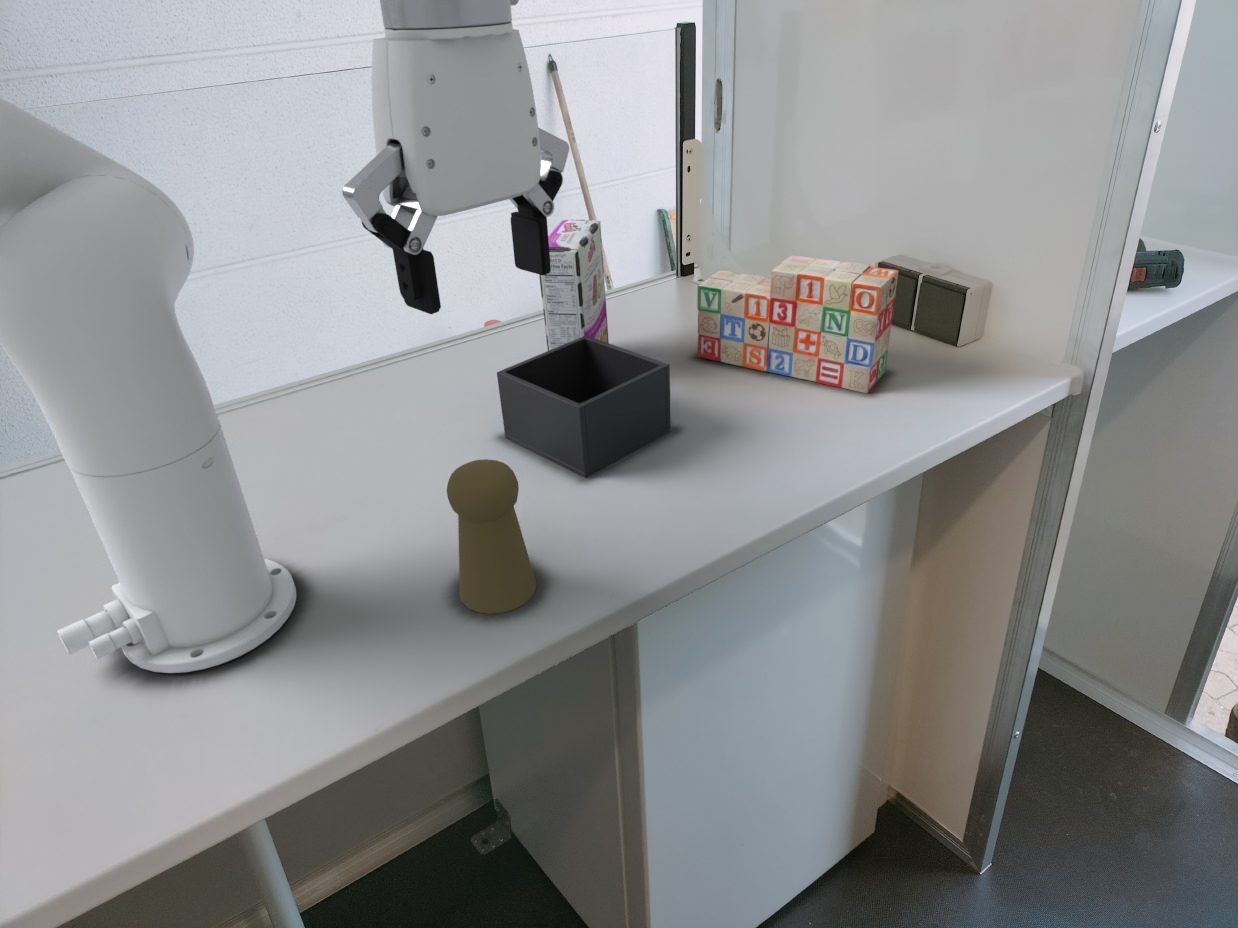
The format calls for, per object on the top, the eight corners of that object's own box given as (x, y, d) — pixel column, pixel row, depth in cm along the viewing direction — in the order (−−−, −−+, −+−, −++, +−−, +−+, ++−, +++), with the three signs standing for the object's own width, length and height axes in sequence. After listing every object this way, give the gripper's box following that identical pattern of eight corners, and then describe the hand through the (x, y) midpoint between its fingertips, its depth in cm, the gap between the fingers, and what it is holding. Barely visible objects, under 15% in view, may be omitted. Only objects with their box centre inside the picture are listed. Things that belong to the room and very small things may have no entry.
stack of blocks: (696, 358, 103) (695, 259, 97) (719, 340, 108) (720, 244, 102) (869, 394, 93) (881, 285, 87) (887, 372, 98) (900, 267, 91)
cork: (552, 585, 67) (538, 465, 62) (493, 624, 63) (473, 501, 58) (502, 555, 71) (485, 440, 65) (444, 591, 67) (420, 472, 61)
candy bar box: (571, 348, 108) (561, 218, 100) (610, 350, 107) (602, 219, 99) (547, 386, 99) (534, 246, 90) (589, 388, 98) (579, 247, 89)
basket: (585, 478, 81) (579, 407, 77) (505, 438, 88) (496, 372, 85) (671, 430, 88) (669, 364, 84) (590, 397, 96) (585, 335, 92)
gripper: (515, 0, 58) (536, 250, 66) (278, 17, 47) (340, 312, 56) (595, -1, 53) (606, 268, 62) (352, 18, 42) (408, 340, 51)
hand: (480, 289), depth 59 cm, fingers open, 9 cm apart
